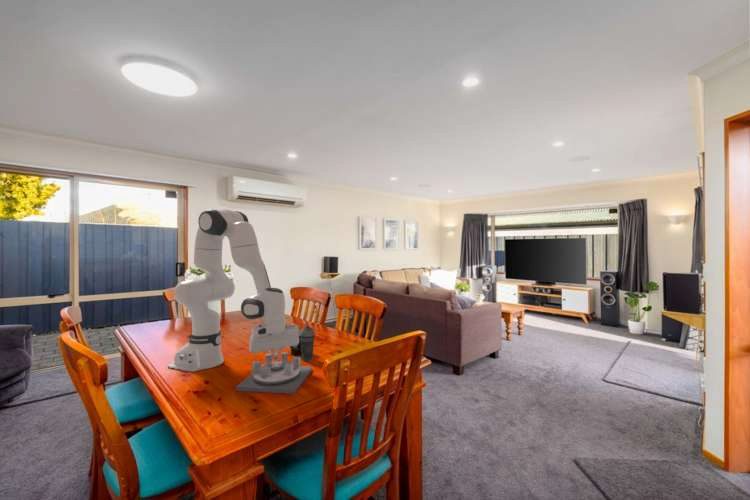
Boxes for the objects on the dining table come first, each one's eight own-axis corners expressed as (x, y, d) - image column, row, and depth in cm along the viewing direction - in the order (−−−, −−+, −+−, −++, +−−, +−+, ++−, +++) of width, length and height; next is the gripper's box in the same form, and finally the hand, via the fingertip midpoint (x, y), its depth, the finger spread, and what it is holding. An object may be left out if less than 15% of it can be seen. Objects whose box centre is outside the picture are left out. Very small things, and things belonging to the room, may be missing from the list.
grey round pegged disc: (250, 388, 116) (250, 370, 116) (253, 369, 133) (253, 354, 133) (302, 381, 122) (302, 364, 122) (298, 364, 139) (298, 350, 139)
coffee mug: (310, 352, 160) (310, 332, 160) (297, 357, 153) (297, 336, 153) (293, 348, 167) (293, 329, 166) (281, 353, 159) (280, 333, 159)
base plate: (236, 390, 118) (236, 386, 118) (263, 368, 140) (263, 364, 140) (293, 393, 115) (293, 389, 115) (311, 370, 137) (311, 366, 137)
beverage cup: (311, 363, 146) (311, 319, 145) (296, 361, 147) (296, 318, 147) (317, 357, 153) (317, 316, 152) (303, 356, 154) (303, 315, 154)
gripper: (296, 321, 142) (296, 352, 142) (247, 328, 131) (248, 362, 131) (301, 324, 137) (301, 356, 137) (251, 332, 126) (251, 366, 126)
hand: (275, 359), depth 134 cm, fingers closed
